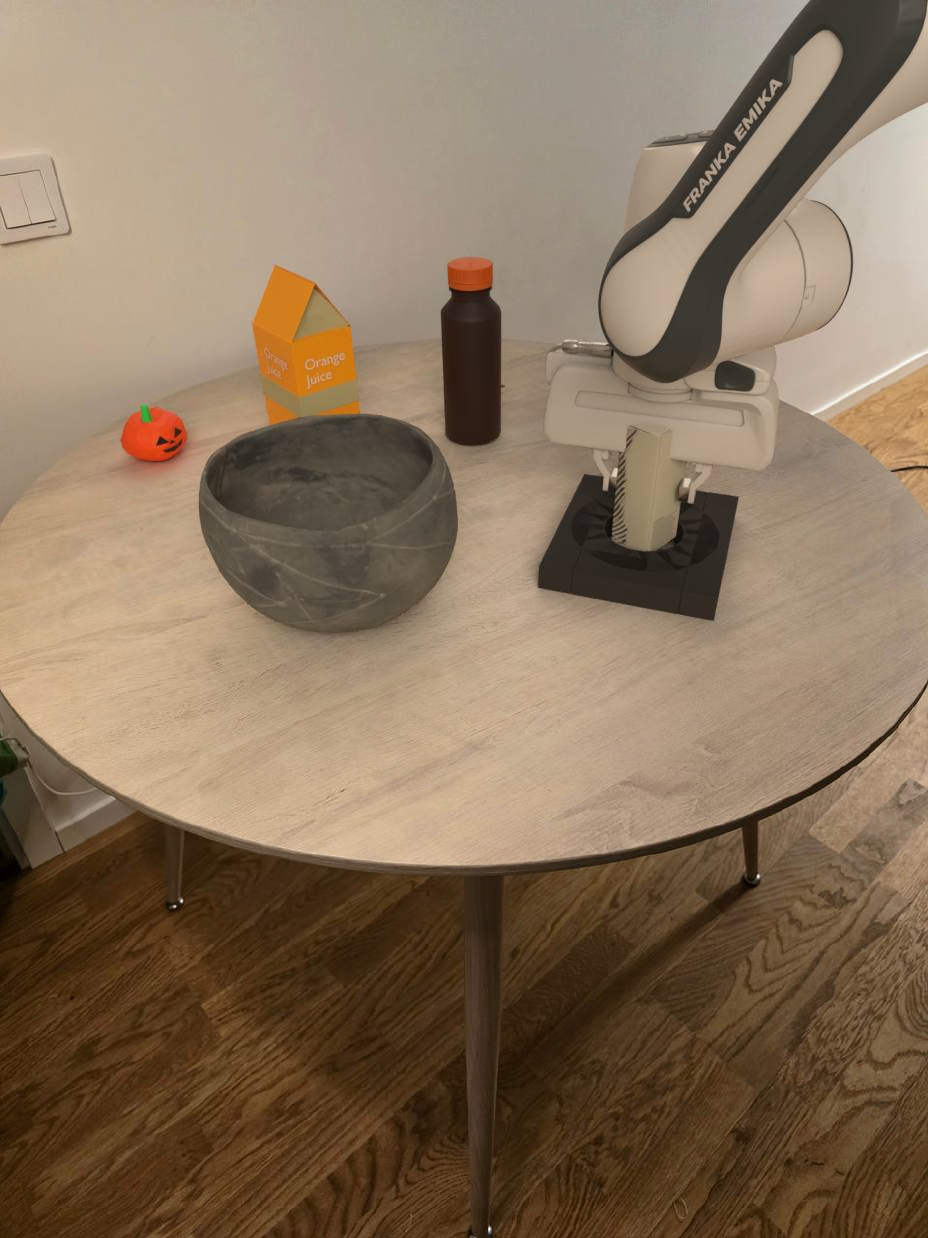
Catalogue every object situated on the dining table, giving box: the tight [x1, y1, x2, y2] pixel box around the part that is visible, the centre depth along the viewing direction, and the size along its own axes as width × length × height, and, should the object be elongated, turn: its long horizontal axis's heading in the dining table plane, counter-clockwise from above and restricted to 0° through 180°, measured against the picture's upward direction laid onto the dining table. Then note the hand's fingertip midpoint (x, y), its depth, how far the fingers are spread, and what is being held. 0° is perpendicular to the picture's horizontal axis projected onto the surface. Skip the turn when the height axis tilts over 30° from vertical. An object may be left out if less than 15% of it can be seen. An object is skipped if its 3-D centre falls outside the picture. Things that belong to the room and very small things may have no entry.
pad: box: [537, 473, 740, 621], centre depth 84 cm, size 16×18×2 cm
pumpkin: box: [120, 403, 188, 462], centre depth 101 cm, size 7×8×6 cm
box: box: [610, 425, 688, 551], centre depth 80 cm, size 5×4×13 cm
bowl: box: [198, 413, 459, 633], centre depth 74 cm, size 21×21×15 cm
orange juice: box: [251, 264, 361, 426], centre depth 98 cm, size 8×9×20 cm
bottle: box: [440, 256, 502, 447], centre depth 99 cm, size 7×7×20 cm
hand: (649, 494), depth 80 cm, fingers closed on box, 5 cm apart
